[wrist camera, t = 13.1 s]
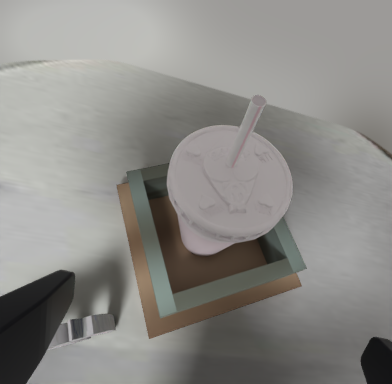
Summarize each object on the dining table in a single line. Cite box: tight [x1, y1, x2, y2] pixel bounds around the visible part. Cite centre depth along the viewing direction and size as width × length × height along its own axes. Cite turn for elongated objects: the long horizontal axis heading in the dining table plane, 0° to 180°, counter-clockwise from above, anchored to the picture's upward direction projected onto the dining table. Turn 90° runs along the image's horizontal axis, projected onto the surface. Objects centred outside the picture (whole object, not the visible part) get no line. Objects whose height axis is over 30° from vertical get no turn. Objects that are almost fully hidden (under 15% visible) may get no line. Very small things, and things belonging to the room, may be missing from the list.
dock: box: [117, 163, 307, 339], centre depth 21 cm, size 12×12×5 cm
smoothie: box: [167, 95, 293, 256], centre depth 16 cm, size 6×6×14 cm
